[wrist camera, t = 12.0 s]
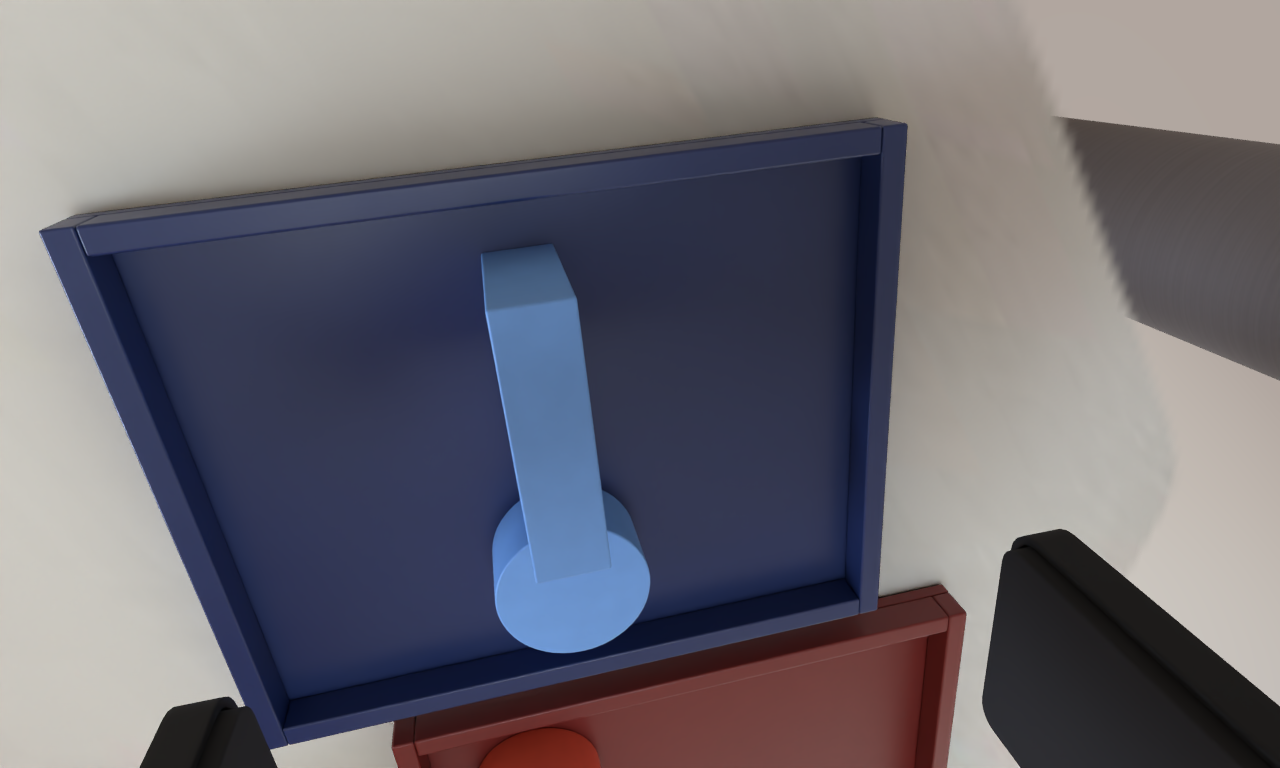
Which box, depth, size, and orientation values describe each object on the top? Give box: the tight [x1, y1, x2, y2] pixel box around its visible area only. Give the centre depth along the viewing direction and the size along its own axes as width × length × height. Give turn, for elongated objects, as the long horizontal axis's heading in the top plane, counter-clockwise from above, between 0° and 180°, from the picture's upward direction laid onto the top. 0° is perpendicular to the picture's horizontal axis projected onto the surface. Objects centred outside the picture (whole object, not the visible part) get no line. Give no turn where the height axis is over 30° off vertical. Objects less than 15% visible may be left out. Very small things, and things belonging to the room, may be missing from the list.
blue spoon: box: [481, 244, 650, 653], centre depth 17 cm, size 10×4×4 cm, turn 5°
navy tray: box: [39, 117, 908, 749], centre depth 19 cm, size 17×14×1 cm
